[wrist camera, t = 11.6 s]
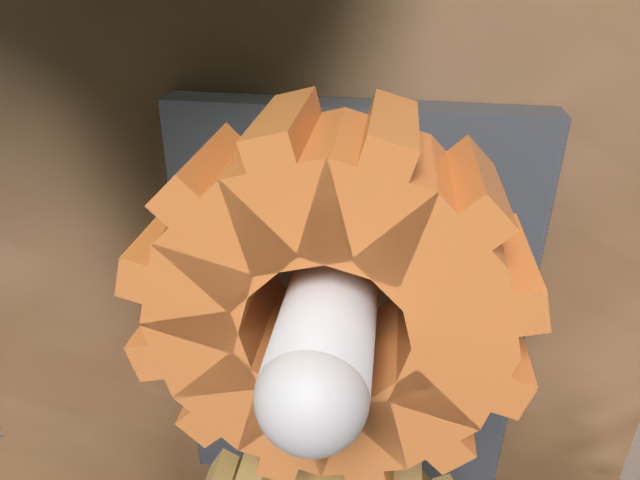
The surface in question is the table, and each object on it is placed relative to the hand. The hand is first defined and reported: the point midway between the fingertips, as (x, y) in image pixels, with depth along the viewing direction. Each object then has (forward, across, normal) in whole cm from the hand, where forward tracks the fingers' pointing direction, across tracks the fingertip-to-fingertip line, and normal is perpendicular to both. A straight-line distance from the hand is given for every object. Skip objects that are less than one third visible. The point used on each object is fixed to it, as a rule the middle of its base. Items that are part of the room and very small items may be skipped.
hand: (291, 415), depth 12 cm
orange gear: (+7, 0, 0) cm, 7 cm away
